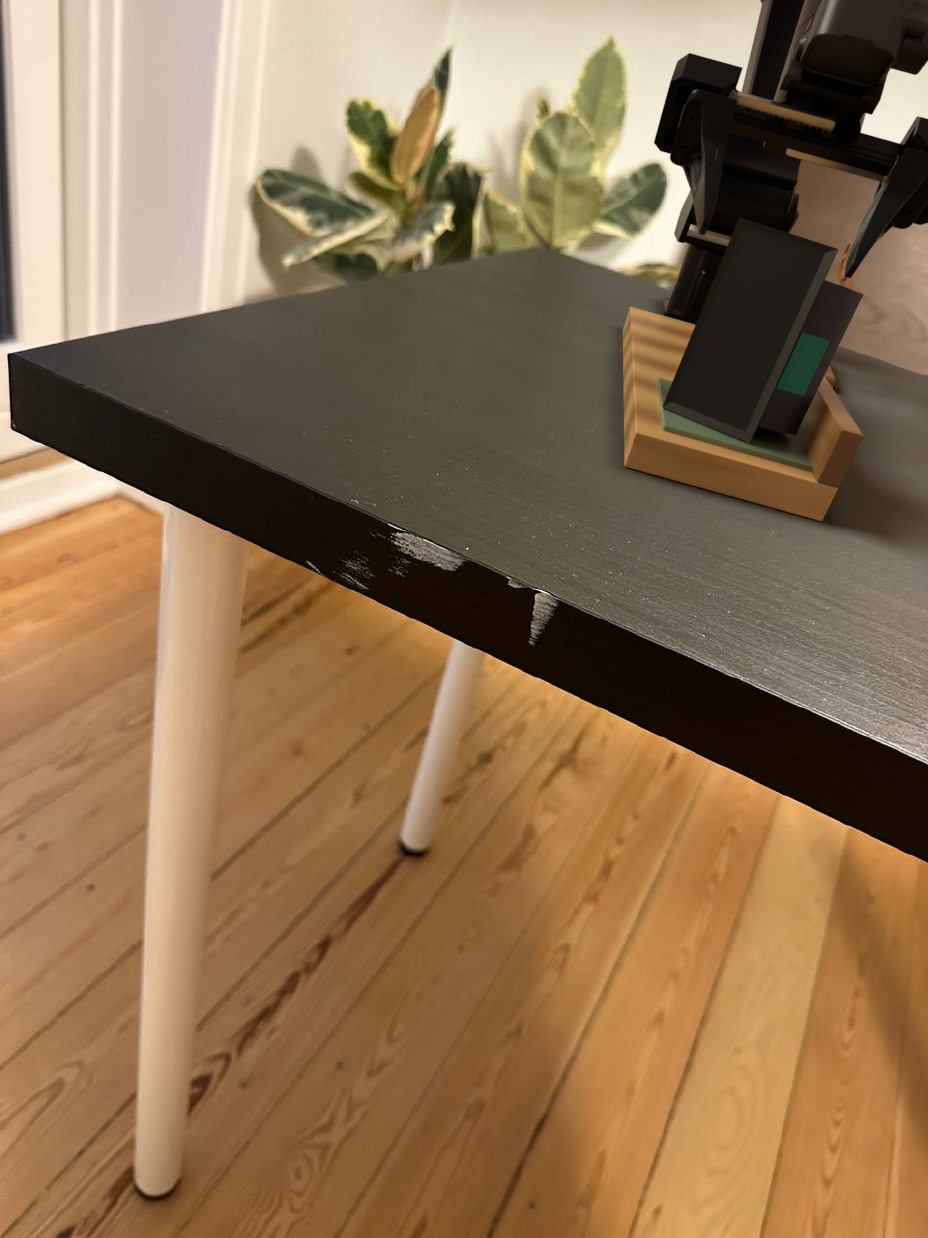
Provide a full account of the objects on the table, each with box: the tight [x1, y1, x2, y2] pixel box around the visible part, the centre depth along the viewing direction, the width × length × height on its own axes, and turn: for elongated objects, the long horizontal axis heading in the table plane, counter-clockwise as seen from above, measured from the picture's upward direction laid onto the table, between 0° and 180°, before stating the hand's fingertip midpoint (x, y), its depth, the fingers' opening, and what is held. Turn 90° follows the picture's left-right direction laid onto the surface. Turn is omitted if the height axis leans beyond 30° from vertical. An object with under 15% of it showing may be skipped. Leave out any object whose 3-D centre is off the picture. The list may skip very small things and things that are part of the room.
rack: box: [622, 306, 865, 522], centre depth 61 cm, size 30×11×5 cm, turn 171°
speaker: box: [662, 217, 864, 443], centre depth 51 cm, size 8×6×10 cm
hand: (776, 251), depth 57 cm, fingers open, 9 cm apart
